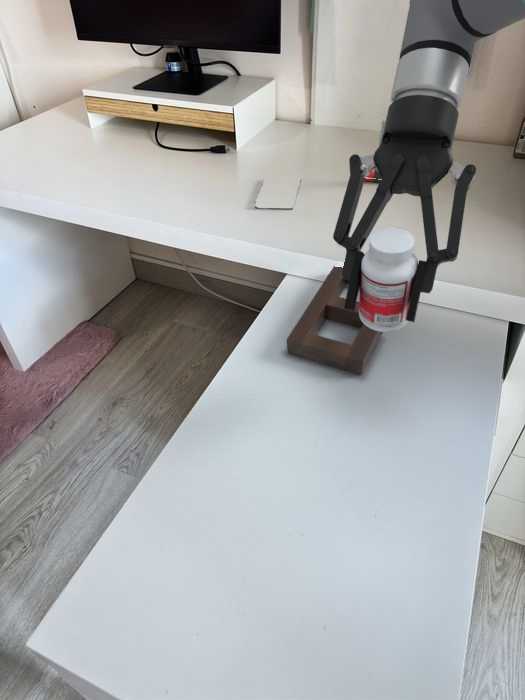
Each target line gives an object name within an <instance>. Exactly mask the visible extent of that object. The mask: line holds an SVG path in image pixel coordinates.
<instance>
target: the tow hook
mask: <svg viewBox="0 0 525 700" xmlns="http://www.w3.org/2000/svg"><path fill="white" fill-rule="evenodd" d="M385 122H386V119H383V120H381V128H380V129H381V130H380V131H379V141H378V147H379V146H380V144H381V141H382V136H383V132H384V127H385ZM373 168H374V171H371V170H372V169H373ZM369 174H370V175H368V176H367V177H369V178H370V177H371V178H376V179H366V178H364V182H373V183H378V184H379V183H380V181H381V180H378V179H382V178H381V176H380V174H379V172H378V170H377V168H376V166H374V167H372V168H371V169H370V173H369Z"/></svg>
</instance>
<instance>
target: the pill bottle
mask: <svg viewBox="0 0 525 700" xmlns="http://www.w3.org/2000/svg"><path fill="white" fill-rule="evenodd" d="M415 242H416V241H415V237H414V236H413V235H412V233H410V232H409V231H408V230H405V229H403V228H398V227H385V228H381V229H378V230H376V231H375V232H374V233H373V234H371V236H370V237H369V243H368V245H369V246H368V250H367V251H366V252H365V253H364V254H365V255H364V257H363V259H362V262H361V279H360V287H359V301H358V302H359V316H360V319H361V321H362V322H363V323H364V324H365V325H366V326H367V327H369V328H371V329H373V330H376V331H380V332H383V333H389V332H395V331H398V330H400V329H402V328H403V327H405V326H406V325H407V324H408V323H409V321H407V320H406V318H407V313H408V308H409V304H410V299H411V295H412V290H413V286H414V281H415V277H416V272H417V268H418V263H419V260H418V258H417V256H416V255H415V253H414V250H415Z"/></svg>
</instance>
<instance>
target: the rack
mask: <svg viewBox="0 0 525 700" xmlns="http://www.w3.org/2000/svg"><path fill="white" fill-rule="evenodd" d="M342 271H343V268H342V267H335V266H334V265H333V267H332V268H331V270H330V271H329V273H328V274H327V276H326V278H324V279H325V280H324V281H323V282H322V284H321V285H320V287H319V289H318V290H317V291H316V293H315V295H314V296H313V298H312V299H311V301H310V302H309V304H308V306H307V307H306V309H305V310H304V312H303V313H302V315H301V317H299V319H298V321H297V322H296V324H295V326H293V329H292V330H291V332H290V333H289V335H288V336H287V338H286V348H287V354H289V355H293V356H296V357H300V358H303V359H306V360H309V361H312V362H317V363H318V364H319V363H320V364H321V365H326V366H329V367H333V368H336V369H338V370H342V371H345V372H350V373H353V374H356V375H360V376H363V374H364V372H365V370H366V368H367V366H368V364H369V362H370V360H371V357H372V355H373V354H374V352H375V350H376V348H377V345H378V344H379V341H380V340H381V339H380V338H381V337H382V335H383V333H384V332H380V331H376V330H373V329H371V328H369V327H367V326H366V325H365V324H364V323H363V322H362V321H361V319H360V316H359V301H358V300H356V305H355V310H354V311H352V310H347V309H345V308H344V305H345V301H346V297H343V296H341V295H342V293H343V291H344V289H345V288H346V286H347V285H348V286H349V282H350V280H345V279H344V278H343V276H342ZM359 288H360V286H359ZM326 319H328V320H331V321H334V322H339V323H342V324H346V325H350V326H354V327H357V328H360V330H359V332H358V333H357V335H356V337H355V339H354V340H353V342H352V344H350V343H347V342H342V341H339V340H336V339H333V338H328V337H326V336H321V335H318V333H319V331H320V330H321V328H322V326H323V325H324V323H325V321H326Z"/></svg>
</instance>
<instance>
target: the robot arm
mask: <svg viewBox="0 0 525 700" xmlns="http://www.w3.org/2000/svg"><path fill="white" fill-rule="evenodd" d="M524 19H525V0H409V7H408V11H407V17H406V23H405V27H404V32H403V37H402V42H401V48H400V53H399V58H398V63H397V65H396V69H395V75H394V79H393V83H392V89H391V93H390V102H391V103H390V104H389V106H388V109H387V114H386V118H385V120H386V122H385V127H384V132H383V136H382V141H381V144H380V146H379V145H378V147H377V149H376V150H374V153H373V154H369V155H364V156H360V155H358V154H355V153H354V154H352V155H351V156H350V157H349V161H348V162H349V163H348V164H349V178H348V181H347V185H346V188H345V192H344V196H343V199H342V203H341V207H340V209H339V213H338V217H337V220H336V223H335V227H334V232H333V233H332V234H333V235H332V238H333V240H334V242H335V243H336V244H337V245H338V246H341V247H343V248H344V249H345V250H346V251H345V252H346V253H345V257H344V260H345V262H344V266H343V271H342V276H343V278H344V279H345V280H350V282H349V285H348V287H347V290H346V291H347V292H346V297H345V298H346V301H345V305H344V308H345V309H347V310H352V311H354V310H355V305H356V301H358V294H359V292H360V287H359V286H360V279H361V262H362V259H363V257H364V255H365V254H366V253H364V252H363V251H362V249H363V247H364V245H365V244H366V242H367V240H368V238H369V236H370V235H371V233H372V231H373V229H374V227H375V226H376V224H377V222H378V220H379V219H380V217H381V214H383V211H384V210H385V208H386V206H387V204H388V203H389V202H390V201H391V199H392V197H393V196H394V195H403V194H408V195H411V196H413V197H420V205H421V206H420V207H421V214H422V222H423V224H422V225H423V232H424V238H425V239H424V241H425V250H426V260H422V259H421V260H418V268H417V272H416V277H415V281H414V286H413V290H412V295H411V299H410V304H409V308H408V313H407V318H406V320H407V321H408V322H411V323H415V320H416V316H417V312H418V307H419V303H420V302H419V301H420V298H421V293H422V294H423V293H424V294H431V292H432V291H433V288H434V284H435V279H436V275H437V270H438V267H439V266H440V265H441V264H444V263H449V262H450V263H451V262H452V263H453V262H455V261H456V260H457V259H458V255H459V249H460V241H461V234H462V227H463V221H464V214H465V209H466V208H465V207H466V199H467V193H468V192H469V190H470V187H471V186H472V185H473V183H474V180H475V177H476V172H477V167H476V165H474V164H471V163H470V164H467V165H464V164H462V163H458V162H456V161H454V157H453V154H452V147H453V143H454V138H455V134H456V129H457V125H458V122H459V121H458V120H459V116H460V114H459V111H458V110H459V108H460V107H461V106H462V101H463V98H464V93H465V89H466V84H467V80H468V76H469V75H468V74H469V70H470V66H471V62H472V55H473V52H474V49H475V44H476V43H477V42H478V41H479V40H482V39H484V38H486V37H489V36H491V35H493V34H495V33H497V32H498V31H501V30H503V29H505V28H507V27H510V26H511V25H514V24H515V23H518V22H520V21H523V20H524ZM374 166H376V167H374ZM372 167H374V168H375V169H376V168H377V170H378V172H379V174H380V176H381V178H382V180H381V181H380V183H379V182H378V185H377V187H376V189H375V193H374V194H373V196H372V198H371V200H370V202H369V203H368V205H367V207H366V209H365V211H364V212H363V214H362V216H361V218H360V220H359V222H358V223H357V225H356V227H355V229H354V230H353V232H352V234H351V236H350V233H351V229H352V225H353V222H354V219H355V216H356V213H357V212H356V211H357V208H358V205H359V201H360V198H361V194H362V191H363V187H364V183H365V181H364V177H367V176H368V175H369V173H370V171H371V170H372V169H373V168H372ZM371 168H372V169H371ZM448 174H450V175H451V182H450V183H451V185H452V186H453V187H455V188H454V192H453V193H454V194H453V201H452V207H451V214H450V221H449V228H448V235H447V241H446V248H443V249H439V243H438V233H437V225H436V224H437V223H436V217H435V215H436V214H435V208H434V197H433V189H434V187H435V186H436V185H438V184H439V182H441V180H442V179H443V178H445V177H446V176H447V175H448Z"/></svg>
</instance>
